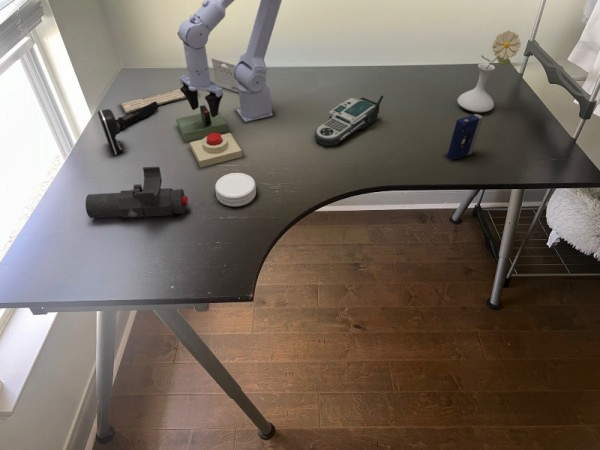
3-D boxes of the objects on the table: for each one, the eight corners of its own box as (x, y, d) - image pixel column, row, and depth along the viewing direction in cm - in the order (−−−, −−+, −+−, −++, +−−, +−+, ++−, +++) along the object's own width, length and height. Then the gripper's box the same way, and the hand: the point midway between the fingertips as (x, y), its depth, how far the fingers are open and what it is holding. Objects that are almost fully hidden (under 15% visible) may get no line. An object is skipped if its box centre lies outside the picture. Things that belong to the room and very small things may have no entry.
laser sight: (99, 202, 110) (86, 170, 104) (191, 197, 112) (183, 165, 105) (89, 229, 103) (74, 196, 97) (187, 224, 105) (179, 191, 98)
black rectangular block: (201, 116, 135) (199, 105, 132) (206, 115, 135) (204, 104, 133) (206, 124, 132) (204, 113, 129) (211, 123, 132) (209, 111, 129)
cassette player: (452, 160, 124) (463, 122, 116) (446, 156, 125) (456, 118, 117) (472, 153, 126) (484, 116, 118) (466, 149, 128) (477, 112, 120)
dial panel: (218, 118, 140) (217, 109, 138) (228, 132, 134) (227, 123, 132) (178, 127, 136) (176, 118, 134) (185, 142, 130) (183, 133, 128)
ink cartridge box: (219, 82, 158) (215, 55, 151) (244, 90, 153) (241, 63, 147) (214, 85, 156) (210, 58, 149) (239, 93, 152) (237, 65, 145)
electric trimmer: (161, 111, 143) (159, 102, 141) (121, 131, 134) (118, 122, 132) (154, 108, 145) (152, 99, 143) (113, 127, 136) (110, 118, 134)
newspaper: (127, 114, 141) (125, 109, 140) (120, 105, 146) (119, 100, 144) (196, 96, 150) (196, 91, 149) (189, 88, 155) (188, 83, 153)
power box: (230, 139, 131) (229, 127, 129) (242, 157, 125) (241, 144, 122) (190, 148, 128) (188, 136, 125) (200, 167, 121) (198, 155, 118)
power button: (219, 136, 126) (218, 131, 125) (223, 144, 123) (223, 138, 122) (205, 140, 124) (204, 134, 123) (209, 147, 122) (209, 142, 121)
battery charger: (127, 152, 126) (115, 117, 118) (113, 156, 125) (100, 120, 117) (121, 140, 130) (110, 105, 123) (108, 144, 129) (96, 108, 121)
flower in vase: (453, 112, 143) (475, 32, 126) (458, 96, 151) (479, 19, 134) (496, 120, 140) (524, 39, 123) (498, 103, 148) (525, 25, 130)
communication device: (302, 137, 132) (302, 111, 126) (352, 107, 145) (354, 82, 139) (333, 153, 127) (335, 126, 120) (382, 120, 139) (386, 94, 133)
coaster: (240, 212, 108) (238, 201, 105) (208, 198, 112) (206, 187, 109) (263, 190, 114) (263, 179, 112) (233, 178, 118) (231, 167, 115)
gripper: (168, 66, 123) (177, 110, 132) (208, 79, 117) (214, 125, 126) (186, 57, 127) (193, 101, 136) (225, 69, 121) (230, 114, 131)
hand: (205, 112), depth 132 cm, fingers open, 7 cm apart
